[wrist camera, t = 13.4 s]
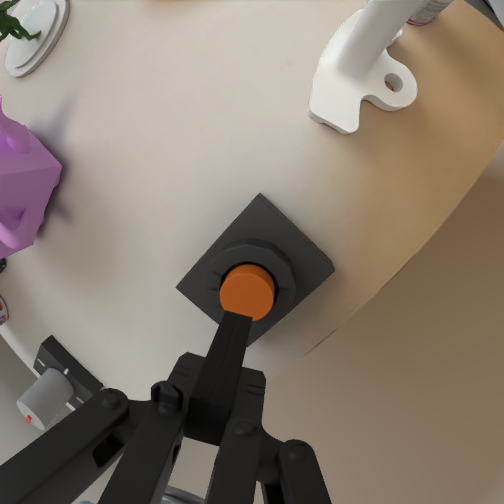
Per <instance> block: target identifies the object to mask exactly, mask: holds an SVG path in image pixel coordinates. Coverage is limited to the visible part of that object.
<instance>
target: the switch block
mask: <svg viewBox="0 0 504 504" xmlns="http://www.w3.org/2000/svg"><path fill="white" fill-rule="evenodd" d="M247 264H249V265H256V266H259V267H261V268H262V269H264V270H265V271H267V272H268V273H269V275H270V276H271V278H272V279H273V282H274V288H275V289H274V300H273V305H272V308H271V310H270V311H269V312H268V314H267V315H265V316H264V317H263V318H261V319H259V320H256V321H252V323H251V328H250V332H249V337H248V341H247V346H246V347H248V346H250V345H251V344H252V343H253V342H255V341H256V340H257V339H258V338H259V337H261V336H262V335H263V334H264V333H265V332H267V331H268V330H269V329H270V328H271V327H273V326H274V325H275V324H276V323H277V322H278V321H280V320H281V319H282V318H283V317H284V316H285V315H287V314H288V313H289V312H290V311H291V310H292V309H293V308H295V307H296V306H297V305H298V304H299V303H300V302H301V301H302V300H304V299H305V298H306V297H307V296H308V295H309V294H310V293H311V292H312V291H314V290H315V289H316V288H317V287H318V286H319V285H320V284H321V283H322V282H323V281H324V280H326V279H327V278H328V277H329V276H330V275H331V274H332V273H333V272H334V271H335V268H334V266H333V264H332V262H331V260H330V259H329V258H328V257H327V256H326V255H325V254H324V253H323V252H322V251H321V250H320V249H319V248H318V247H317V246H316V245H315V244H314V243H313V242H312V241H311V240H310V239H309V238H307V237H306V236H305V235H304V234H303V233H302V232H301V231H300V230H299V229H298V228H297V227H296V226H295V225H294V224H293V223H292V222H291V221H290V220H289V219H288V218H286V217H285V216H284V215H283V214H282V213H281V212H280V211H279V210H278V209H277V208H276V207H275V206H274V205H273V204H271V203H270V202H269V201H268V200H267V199H266V198H265V197H264V196H263V195H262V194H261V193H259V194H258V195H257V196H256V197H255V198H254V199H253V201H252V202H251V203H250V204H249V205H248V206H247V207H246V208H245V209H244V210H243V211H242V213H241V214H240V215H239V216H238V217H237V218H236V219H235V220H234V221H233V222H232V224H231V225H230V226H229V227H228V228H227V229H226V230H225V231H224V232H223V234H222V235H221V236H220V237H219V238H218V239H217V240H216V241H215V242H214V244H213V245H212V246H211V247H210V248H209V249H208V250H207V251H206V253H205V254H204V255H203V256H202V257H201V258H200V259H199V261H198V262H197V263H196V264H195V265H194V266H193V267H192V269H191V270H190V271H189V272H188V273H187V274H186V275H185V277H184V278H183V279H182V280H181V281H180V282H179V284H178V285H177V286H176V288H177V289H178V290H179V291H180V292H181V293H182V294H183V295H184V296H186V297H187V298H188V299H189V300H190V301H191V302H193V303H194V304H195V305H196V306H197V307H198V308H200V309H201V310H202V311H203V312H204V313H205V314H207V315H208V316H209V317H210V318H211V319H213V320H214V321H215V322H216V323H218V324H220V322H221V320H222V317H223V315H224V312H225V310H224V308H223V306H222V304H221V301H220V290H221V287H222V285H223V283H224V281H225V279H226V277H227V276H228V274H229V273H230V272H231V271H232V270H233V269H234V268H236V267H238V266H241V265H247Z"/></svg>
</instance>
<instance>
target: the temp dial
mask: <svg viewBox="0 0 504 504" xmlns="http://www.w3.org/2000/svg"><path fill="white" fill-rule="evenodd" d="M73 394H74V389H73V387H72V385H71V383H70V382H69V380H68V379H67V378H66V377H65V376H64V375H63V374H62V373H61V372H60V371H58V370H56V369H54V368H49V369H48V370H47V371H46V372H45V373H44V374H43V375H42V376H41V377H40V378H39V379H38V380H37V381H36V382H35V383H34V384H33V385H32V386H31V387H30V388H29V389H28V390H27V391H26V392H25V393H24V394H23V396H21V398H20V399H19V400H18V401H17V406H18V408H19V409H20V411H21V412H22V414H23V415H24V416H25V417H26V418H27V419H26V421H27V422H28V423H30V422H31V423H32V424H33V425H35V426H36V427H37V428H39V429H41V430H45V429H46V428H47V426H48V425H49V424H50V423H51V421H52V420H53V418H54V417H55V416H56V415H57V414H58V413H59V411H60V410H61V409H62V407H63V406H64V405H65V404H66V403H67V401H68V400H69V399H70V398H71V396H72V395H73Z"/></svg>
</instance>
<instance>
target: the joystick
mask: <svg viewBox="0 0 504 504" xmlns="http://www.w3.org/2000/svg"><path fill="white" fill-rule="evenodd" d="M423 1H424V0H369V1H368V3H367V5H366V6H365V8H361V9H360V10H358V11H357V12H355V13H354V14H352V15H351V16H350V17H349V18H348V19H347V20H346V21H345V22H344V23H343V24H342V25H341V26H340V27H339V28H338V29H337V30H336V32H335V33H334V34H333V36H332V37H331V39H330V41H329V42H328V44H327V46H326V47H325V49H324V51H323V54H322V56H321V58H320V61H319V63H318V66H317V69H316V73H315V76H314V79H313V82H312V86H311V91H310V96H309V102H308V110H307V113H308V116H309V117H310V118H311V119H313V120H315V121H317V122H319V123H320V124H321V123H322V122H323V123H325V124H327V125H329V126H331V127H333V128H334V129H336V130H338V132H339V133H341V134H344V135H347V134H350V133H352V132H354V131H356V130H357V129H358V126H359V111H360V102H361V100H368V101H370V102H372V103H373V104H374V105H375V106H377V107H378V108H380V109H382V110H386V111H396V110H399V109H401V108H404V107H406V106H408V105H410V104H411V103H412V102H413V101H414V100H415V98H416V95H417V84H416V81H415V78H414V76H413V74H412V73H411V72H410V70H409V69H408V68H407V67H406V66H404V65H403V64H402V63H400V62H398V61H396V60H394V59H392V58H391V57H390V56H389V54H388V53H387V49H386V48H387V47H388V46H389V45H391V44H392V43H394V42H395V41H396V40H397V39H398V38H399V37H400V35H401V34H402V29H401V28H402V27H403V26H404V24H405V23H406V22H407V21H408V19H409V18H410V17H411V16H412V14H413V13H414V12H415V11H416V9H417V8H418V7H419V6H420V5H421V3H422V2H423ZM384 81H387V82H388V83H389V84H390V85H391V86H392V88H393V91H391V90H390V89H388V88H387V86H386V85H385V82H384Z"/></svg>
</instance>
